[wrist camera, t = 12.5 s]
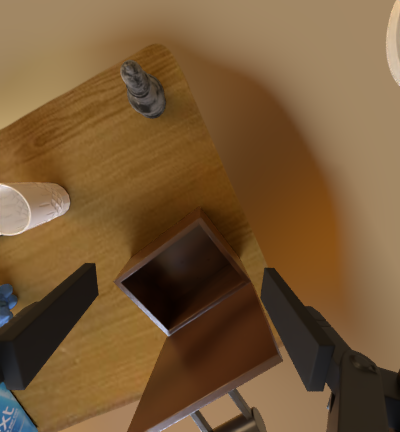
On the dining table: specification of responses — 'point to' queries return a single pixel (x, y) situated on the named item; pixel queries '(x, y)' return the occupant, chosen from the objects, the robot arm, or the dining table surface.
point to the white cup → (30, 205)
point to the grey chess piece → (143, 90)
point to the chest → (183, 273)
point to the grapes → (6, 303)
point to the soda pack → (13, 414)
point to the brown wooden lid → (210, 366)
